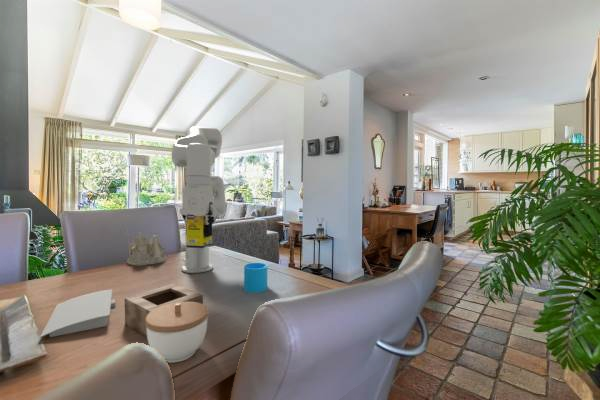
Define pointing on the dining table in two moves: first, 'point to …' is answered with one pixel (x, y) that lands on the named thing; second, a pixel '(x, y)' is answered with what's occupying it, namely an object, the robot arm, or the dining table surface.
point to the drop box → (155, 303)
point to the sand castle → (145, 251)
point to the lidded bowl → (177, 329)
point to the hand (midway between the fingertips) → (199, 235)
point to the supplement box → (196, 232)
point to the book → (80, 314)
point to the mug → (255, 277)
